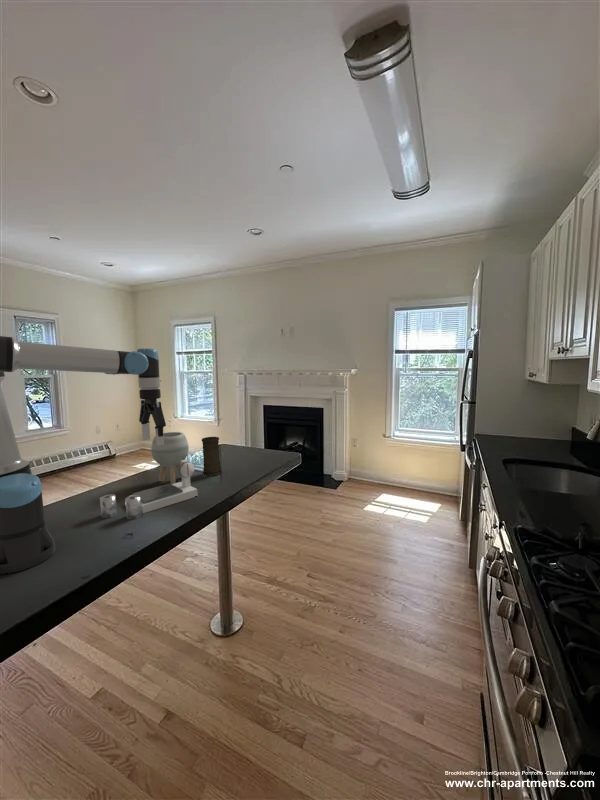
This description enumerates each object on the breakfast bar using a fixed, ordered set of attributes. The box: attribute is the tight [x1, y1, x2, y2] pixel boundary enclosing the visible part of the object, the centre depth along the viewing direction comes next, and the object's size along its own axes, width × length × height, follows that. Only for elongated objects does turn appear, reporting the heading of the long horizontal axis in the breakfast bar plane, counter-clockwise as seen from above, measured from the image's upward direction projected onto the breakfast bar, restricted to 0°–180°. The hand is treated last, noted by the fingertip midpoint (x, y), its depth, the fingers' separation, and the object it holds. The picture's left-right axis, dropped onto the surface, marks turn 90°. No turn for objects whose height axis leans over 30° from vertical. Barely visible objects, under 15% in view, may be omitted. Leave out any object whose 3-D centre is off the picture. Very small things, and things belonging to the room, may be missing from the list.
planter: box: [150, 431, 189, 484], centre depth 158 cm, size 16×16×22 cm
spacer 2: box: [124, 494, 143, 520], centre depth 123 cm, size 5×5×7 cm
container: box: [201, 436, 222, 477], centre depth 169 cm, size 9×9×18 cm
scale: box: [130, 459, 198, 514], centre depth 138 cm, size 24×14×14 cm, turn 135°
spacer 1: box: [99, 493, 118, 519], centre depth 124 cm, size 5×5×7 cm
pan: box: [132, 482, 183, 504], centre depth 136 cm, size 15×12×1 cm
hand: (153, 442), depth 134 cm, fingers open, 13 cm apart
